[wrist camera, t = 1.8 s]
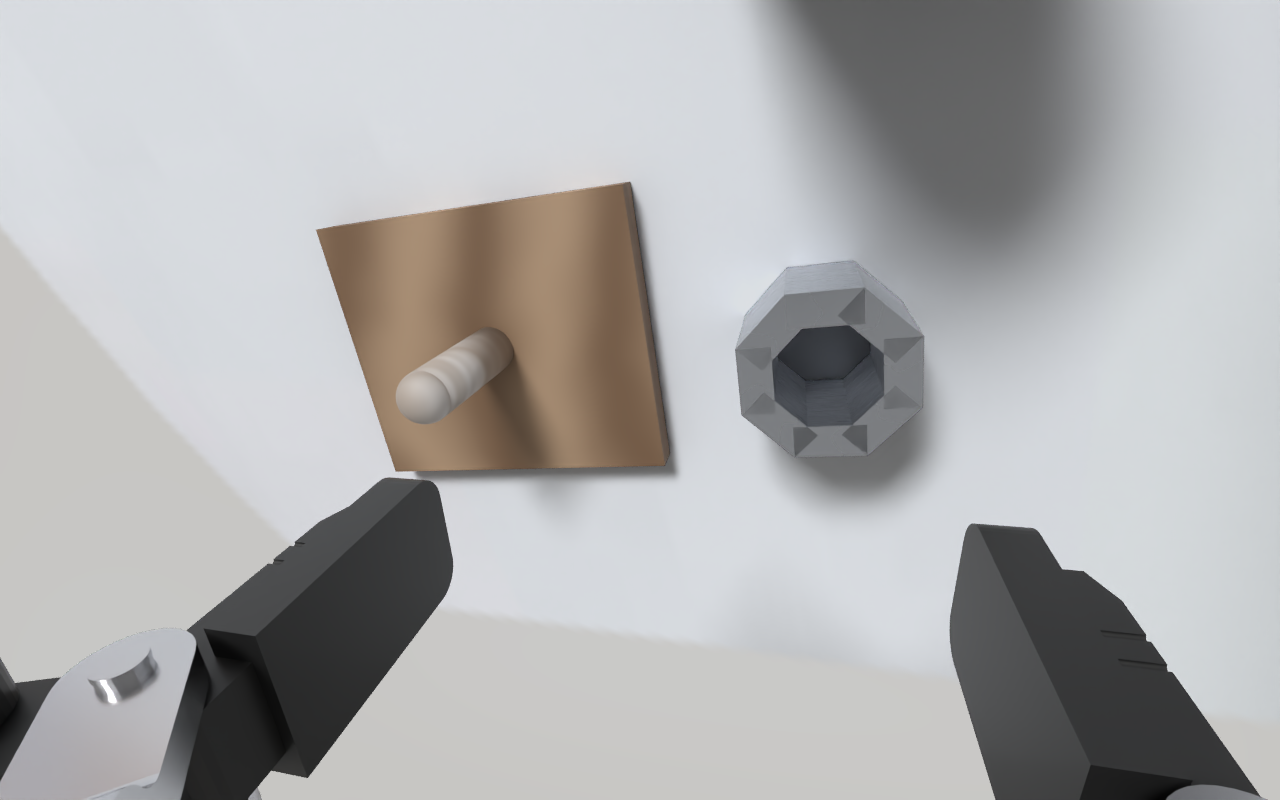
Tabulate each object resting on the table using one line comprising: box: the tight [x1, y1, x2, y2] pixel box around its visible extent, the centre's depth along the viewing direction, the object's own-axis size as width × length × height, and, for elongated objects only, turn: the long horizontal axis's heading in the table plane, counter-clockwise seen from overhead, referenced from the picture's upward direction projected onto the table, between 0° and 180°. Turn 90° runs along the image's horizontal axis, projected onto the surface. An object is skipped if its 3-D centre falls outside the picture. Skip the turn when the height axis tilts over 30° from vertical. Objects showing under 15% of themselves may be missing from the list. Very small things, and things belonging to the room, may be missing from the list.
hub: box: [735, 261, 924, 457], centre depth 23 cm, size 6×6×4 cm
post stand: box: [316, 182, 670, 472], centre depth 25 cm, size 14×12×8 cm
